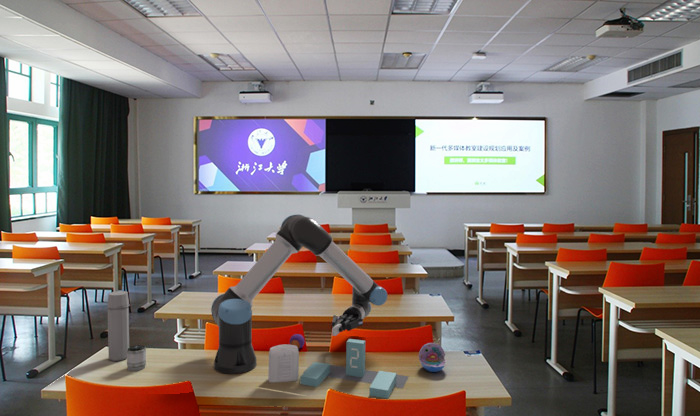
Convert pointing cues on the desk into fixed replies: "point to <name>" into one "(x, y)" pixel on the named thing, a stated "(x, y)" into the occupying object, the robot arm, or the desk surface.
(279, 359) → the photo printer
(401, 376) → the mat
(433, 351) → the cell model
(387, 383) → the tile
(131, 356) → the camera lens
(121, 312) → the water bottle
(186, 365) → the desk surface
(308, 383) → the tile
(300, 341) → the kendama
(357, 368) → the tile
